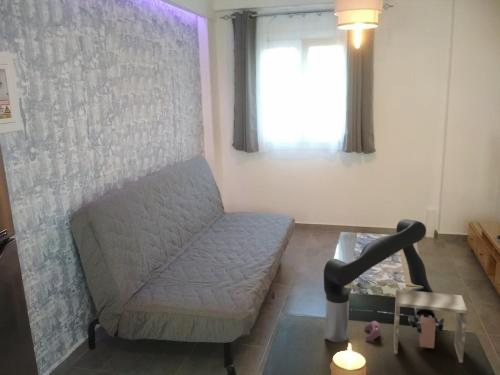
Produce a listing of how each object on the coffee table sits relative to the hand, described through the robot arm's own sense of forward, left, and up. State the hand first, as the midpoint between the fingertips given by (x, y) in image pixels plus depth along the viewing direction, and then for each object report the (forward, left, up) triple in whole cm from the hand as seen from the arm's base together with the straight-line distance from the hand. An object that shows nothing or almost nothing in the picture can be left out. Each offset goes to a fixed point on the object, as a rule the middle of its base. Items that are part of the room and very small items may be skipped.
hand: (428, 332), depth 174 cm
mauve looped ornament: (-21, +8, -9) cm, 24 cm away
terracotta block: (0, +3, -6) cm, 7 cm away
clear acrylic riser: (0, +3, -9) cm, 9 cm away
